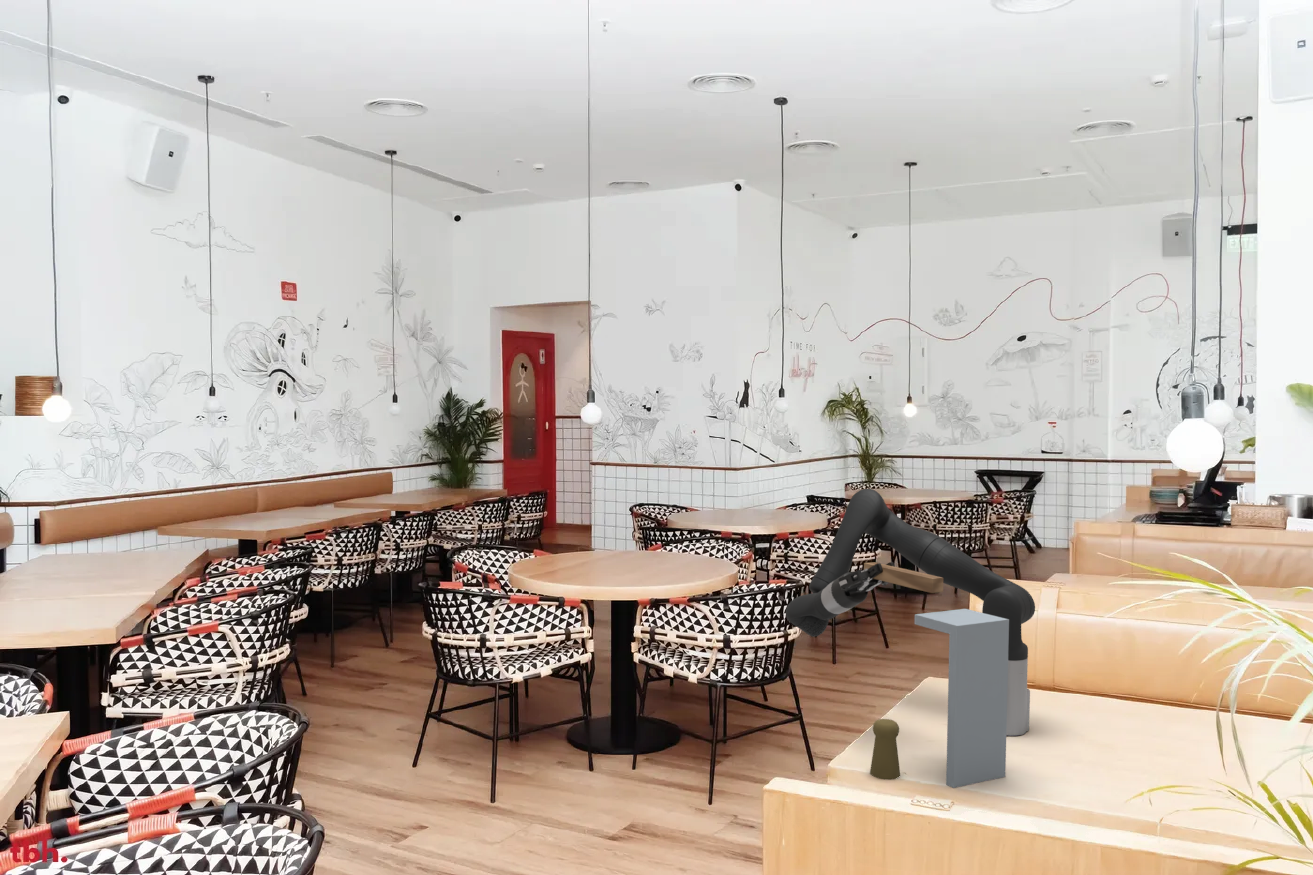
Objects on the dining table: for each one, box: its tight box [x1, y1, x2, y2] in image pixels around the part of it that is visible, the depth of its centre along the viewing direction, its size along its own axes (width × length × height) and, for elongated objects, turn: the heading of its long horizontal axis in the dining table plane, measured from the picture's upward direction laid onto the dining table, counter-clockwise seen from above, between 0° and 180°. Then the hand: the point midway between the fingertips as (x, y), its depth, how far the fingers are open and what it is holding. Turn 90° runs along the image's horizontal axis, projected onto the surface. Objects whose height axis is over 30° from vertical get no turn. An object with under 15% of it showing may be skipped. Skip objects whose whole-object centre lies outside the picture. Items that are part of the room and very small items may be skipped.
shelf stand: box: [914, 608, 1009, 789], centre depth 213 cm, size 14×12×32 cm
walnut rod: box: [863, 561, 944, 594], centre depth 228 cm, size 3×22×3 cm, turn 28°
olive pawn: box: [869, 718, 901, 780], centre depth 212 cm, size 6×6×11 cm
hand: (886, 566), depth 233 cm, fingers closed on walnut rod, 3 cm apart
